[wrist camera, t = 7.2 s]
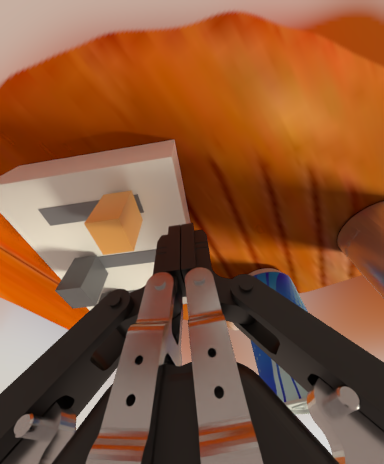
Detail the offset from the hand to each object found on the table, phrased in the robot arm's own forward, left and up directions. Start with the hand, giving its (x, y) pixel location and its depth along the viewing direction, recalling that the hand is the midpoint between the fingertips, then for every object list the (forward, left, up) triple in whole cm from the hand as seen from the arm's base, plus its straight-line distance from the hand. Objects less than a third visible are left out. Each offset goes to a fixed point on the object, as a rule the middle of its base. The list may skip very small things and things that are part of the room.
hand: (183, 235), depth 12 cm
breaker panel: (+8, +7, -11) cm, 15 cm away
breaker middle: (+11, +7, -5) cm, 14 cm away
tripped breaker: (+5, 0, -5) cm, 7 cm away
